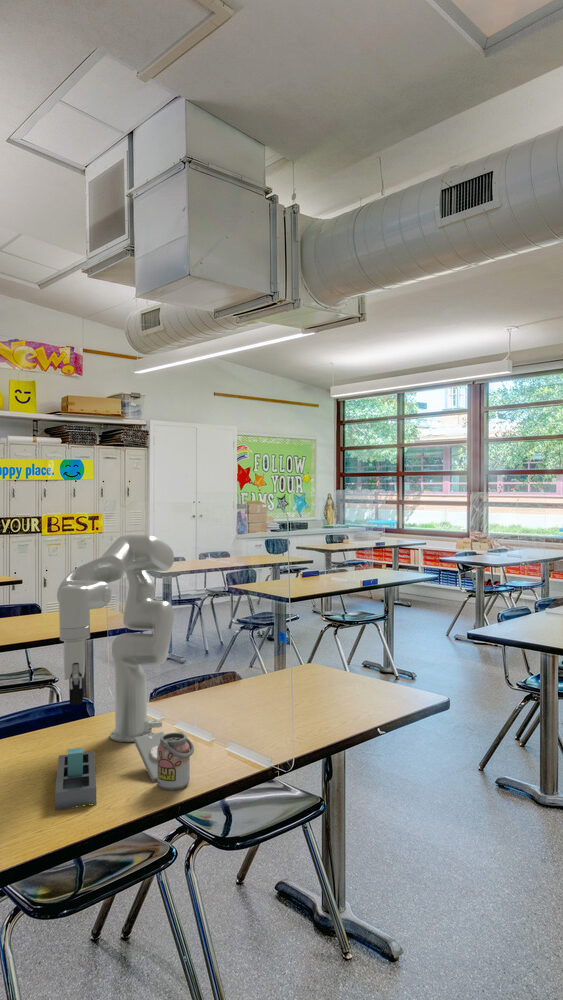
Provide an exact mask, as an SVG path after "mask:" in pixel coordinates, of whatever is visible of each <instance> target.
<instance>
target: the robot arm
mask: <svg viewBox="0 0 563 1000" xmlns="http://www.w3.org/2000/svg"><path fill="white" fill-rule="evenodd" d="M174 561H175V555H174V551H173V549H172V547H171V546H170V545H169V544H168V543H166V542H165V541H163V540H161V539H160V538H158V537H157V536H154V535H149V534H147V535H145V534H140V535H139V534H134V535H133V534H131V535H130V534H129V535H128V534H126V535H122V536H120V537H117V539H116V540H115V541H114V542H113V543H112V544H111V545H110V546H109V547H108V549H107V550H106V551H105V552H104V553H102V555H101V556H100V557H98V558H95V559H93V560H91V561H89V562H86V563H85V564H82V565H80V566H78V567H76V568H75V569H73V570H71V571H70V572H69V573H68V574H67V576H66V577H64V578H63V580H62V582H60V584H59V586H58V589H57V593H56V598H57V601H58V604H59V605H58V610H59V611H58V612H59V615H58V617H59V641H61V642H63V673H64V674H63V679H64V680H65V681H68V683H69V691H68V692H69V705H70V706H75V705H77V706H78V705H82V704H83V703H84V693H83V692H84V690H83V689H84V688H83V679H84V678H85V672H86V671H85V669H86V640H88V639H90V638H91V620H90V619H91V616H90V615H91V612H90V610H96V609H97V610H99V609H102V608H105V607H106V606H107V605H109V603H110V602H111V600H112V595H113V591H112V589H111V586H110V583H113V582H115V581H118V580H121V579H122V578H123V577H124V576H125V575H126V576H127V580H128V581H127V582H128V592H127V595H126V601H125V607H124V612H123V618H122V619H123V620H122V621H123V625H124V627H125V628H127V629H129V630H133V631H151V632H153V633H143V632H139V633H138V632H137V633H136V632H126V633H125V632H124V633H121V634H118V635H117V636H116V637H114V639H113V641H112V645H111V654H112V655H111V656H112V661H113V667H114V679H115V680H114V682H115V684H114V685H115V687H114V690H115V691H114V694H115V697H114V702H115V703H114V705H115V718H114V719H115V721H114V722H115V725H114V726H115V727H114V729H113V730H111V731H110V735H109V737H110V739H111V740H113V741H115V742H120V743H131V742H134V739H135V738H137V737H142V736H146V735H151V734H153V730H152V729H155V728H156V729H157V728H163V722H162V720H157V719H153V720H150V719H149V718H148V715H147V714H148V713H147V712H148V711H147V709H148V708H147V706H148V704H147V695H148V694H147V692H148V691H147V684H148V683H147V674H146V672H145V670H144V668H143V667H142V666H161V665H163V664H164V663H165V662H166V661H167V659H168V656H169V650H170V645H171V639H172V635H173V634H172V633H173V627H174V619H175V617H174V616H175V612H174V608H173V606H172V605H171V602H169V601H165V600H158V599H157V600H155V593H156V585H155V582H154V581H153V578H151V576H150V575H149V573H148V572H164V571H165V572H166V571H168V570H170V569H171V568H172V567H173V564H174Z"/></svg>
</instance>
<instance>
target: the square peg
mask: <svg viewBox="0 0 563 1000" xmlns="http://www.w3.org/2000/svg"><path fill="white" fill-rule="evenodd" d="M83 753H84V747H76V748H68V749H67V755H68V776H74V775H82V774H83Z"/></svg>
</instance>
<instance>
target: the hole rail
mask: <svg viewBox="0 0 563 1000" xmlns="http://www.w3.org/2000/svg"><path fill="white" fill-rule="evenodd" d="M95 754H96V753H95V751H85V752H84V751H83V774H82V775H74V776H68V754H61V755H58V758H57V759H58V760H57V761H58V762H57V772H56V779H55V780H56V782H55V791H54V792H55V793H54V801H55V802H54V804H55V805H54V807H55V808H54V809H55V811H60V810H68V809H67V808H69V809H73V808H72V807H76V806H83V805H89V804H96V805H97V775H96V774H97V773H96V758H95ZM83 807H84V806H83ZM76 808H77V807H76Z"/></svg>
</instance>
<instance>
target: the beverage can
mask: <svg viewBox="0 0 563 1000" xmlns="http://www.w3.org/2000/svg"><path fill="white" fill-rule="evenodd" d="M194 752H195V745H194V744H193V742H192V741H191V740H190V739H189V738H188V736H187V735H186V734H184V732H183V731H179V732H169V733H164V735H163V736H162V737H161V738H160V744H159V746H158V748H157V781H156V782H157V785H158V786H159V787H160V789H163V790H166V791H177V790H181V789H184V788H186V787H187V786H188V784H189V783H190V779H191V778H190V777H191V776H190V775H191V769H190V768H191V764H190V762H191V761H190V760H191V759H190V758H191V756H192V755H193V754H194Z"/></svg>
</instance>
